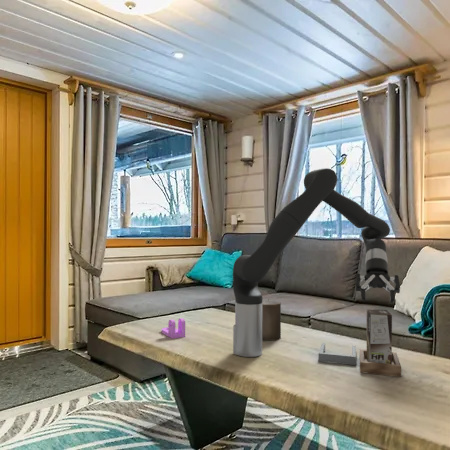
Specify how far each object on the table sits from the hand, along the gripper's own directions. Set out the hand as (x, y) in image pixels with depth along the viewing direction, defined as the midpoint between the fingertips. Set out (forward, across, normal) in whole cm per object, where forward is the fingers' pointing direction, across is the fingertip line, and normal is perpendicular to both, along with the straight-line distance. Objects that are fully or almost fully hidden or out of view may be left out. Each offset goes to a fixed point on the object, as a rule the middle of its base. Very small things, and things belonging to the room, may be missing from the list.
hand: (377, 300), depth 135 cm
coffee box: (+20, 0, +5) cm, 21 cm away
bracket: (+11, -77, +16) cm, 80 cm away
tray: (+21, 0, +6) cm, 22 cm away
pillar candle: (+5, -40, +22) cm, 46 cm away
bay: (+16, -13, +10) cm, 23 cm away
